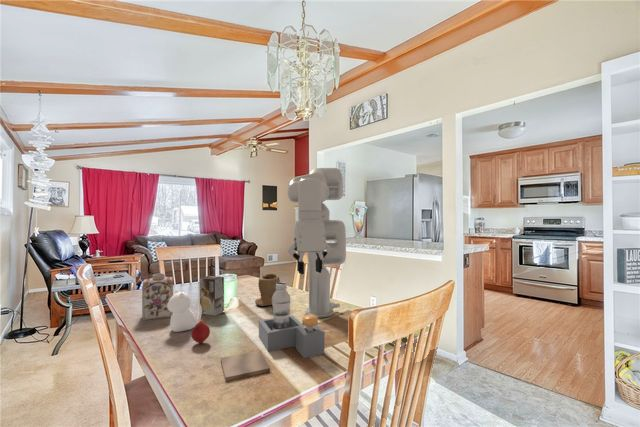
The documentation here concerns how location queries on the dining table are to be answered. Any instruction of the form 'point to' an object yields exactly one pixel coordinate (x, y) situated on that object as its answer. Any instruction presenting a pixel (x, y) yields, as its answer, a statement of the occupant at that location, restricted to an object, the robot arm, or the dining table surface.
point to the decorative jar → (156, 296)
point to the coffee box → (212, 295)
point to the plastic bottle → (281, 307)
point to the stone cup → (267, 288)
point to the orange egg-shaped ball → (309, 321)
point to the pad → (244, 365)
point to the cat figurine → (182, 312)
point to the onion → (200, 332)
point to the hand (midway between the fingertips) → (309, 272)
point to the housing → (292, 337)
